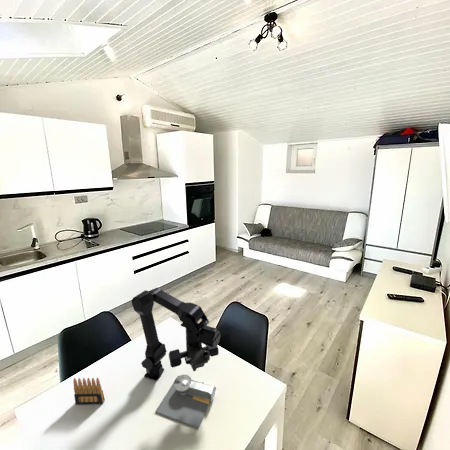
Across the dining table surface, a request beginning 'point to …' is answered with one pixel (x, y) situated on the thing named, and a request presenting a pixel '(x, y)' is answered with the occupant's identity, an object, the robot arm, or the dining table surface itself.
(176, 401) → the base
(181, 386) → the elbow
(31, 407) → the dining table surface
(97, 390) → the ammunition clip
